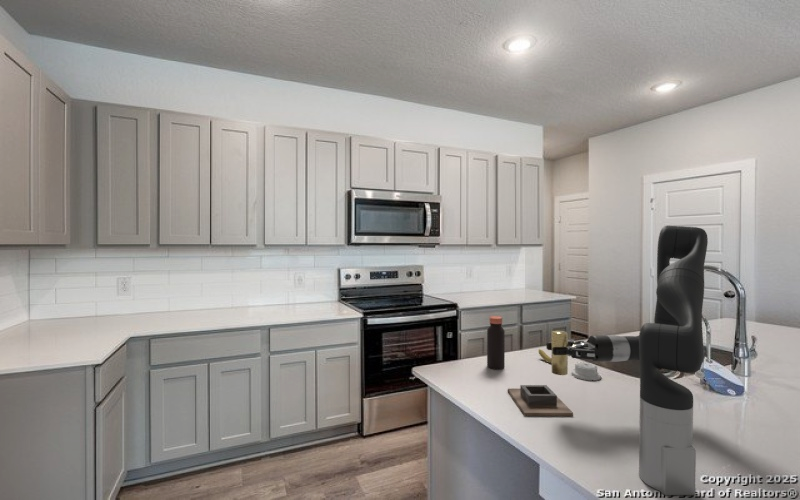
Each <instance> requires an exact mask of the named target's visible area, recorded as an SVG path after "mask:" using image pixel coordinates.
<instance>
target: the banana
mask: <svg viewBox="0 0 800 500" xmlns="http://www.w3.org/2000/svg"><path fill="white" fill-rule="evenodd" d="M538 354H539V356H540V357H541V358H542V359H543V360H544V361H545V362H546V363H548V364H552V357H550V356H549V355H548V354H547V353H546V352H545V351H543V349H540V348H539V349H538Z"/></svg>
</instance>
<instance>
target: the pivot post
mask: <svg viewBox="0 0 800 500" xmlns="http://www.w3.org/2000/svg"><path fill="white" fill-rule="evenodd" d="M568 334H569V333H568V332H567V331H563V330H553V331H551V342H552V348H553V347H566V348H567V347H568V339H569V338H568V336H569V335H568ZM568 357H569V356H567V354H566V355H554V354H553V353H552V352H551V358H552V363H551V373H552V374H554V375H557V376H566V375H568V371H569V370H568V366H569V365H568V362H569V361H568V360H569V359H568Z"/></svg>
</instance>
